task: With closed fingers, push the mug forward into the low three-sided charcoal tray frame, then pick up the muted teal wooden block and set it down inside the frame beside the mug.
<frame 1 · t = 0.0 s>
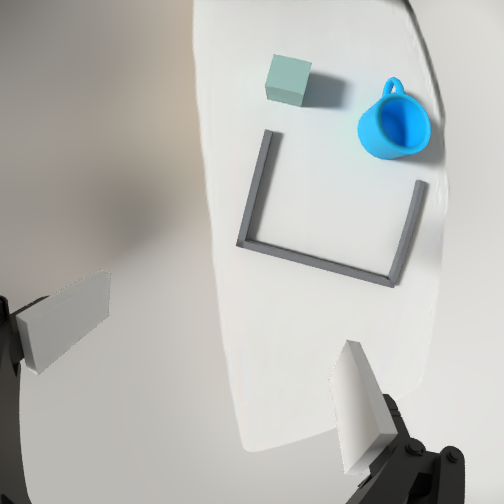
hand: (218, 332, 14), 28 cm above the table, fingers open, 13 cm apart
tray frame: (335, 210, 39), on the table
block: (287, 88, 36), on the table
mug: (382, 121, 35), on the table
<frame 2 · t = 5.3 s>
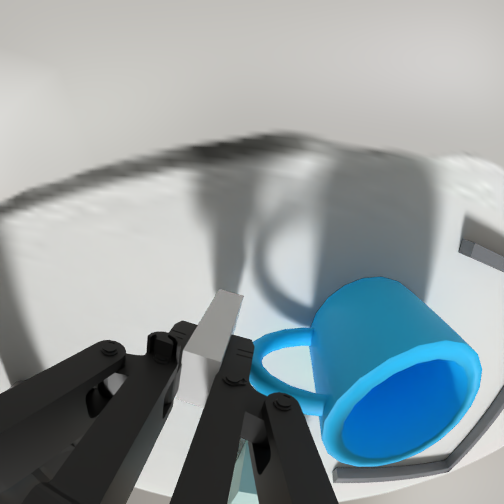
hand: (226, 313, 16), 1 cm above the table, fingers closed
tray frame: (461, 392, 18), on the table
block: (266, 456, 21), on the table
mug: (340, 331, 18), on the table, touching gripper
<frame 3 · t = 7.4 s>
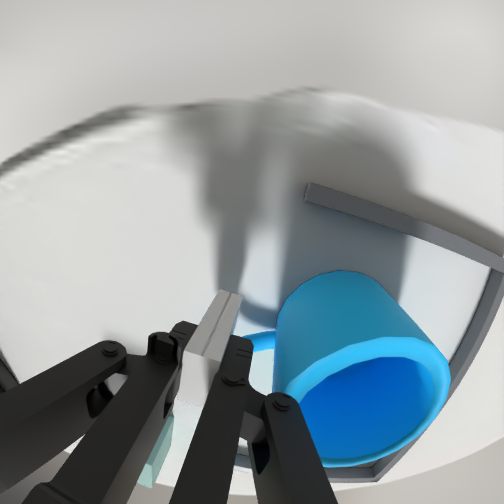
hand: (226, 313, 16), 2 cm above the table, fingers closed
tray frame: (362, 385, 18), on the table
block: (148, 422, 22), on the table
mug: (308, 330, 18), on the table, touching gripper
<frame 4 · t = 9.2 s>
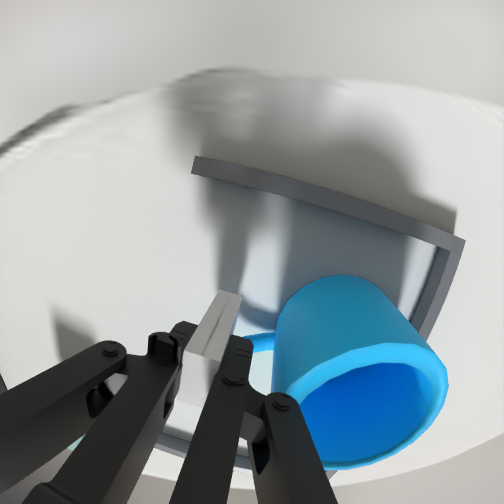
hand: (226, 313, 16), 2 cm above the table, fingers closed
tray frame: (283, 372, 18), on the table
mug: (307, 332, 18), on the table, touching gripper
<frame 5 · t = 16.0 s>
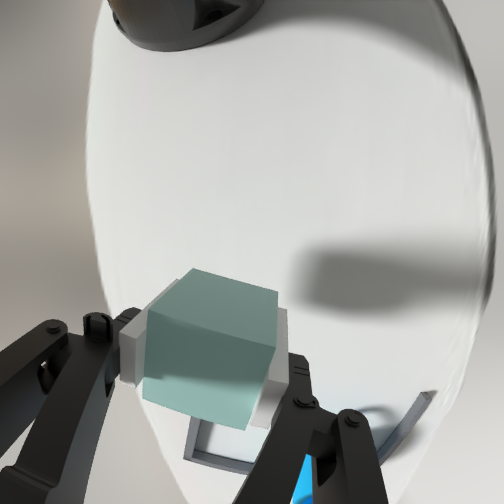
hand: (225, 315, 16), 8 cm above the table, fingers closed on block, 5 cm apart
tray frame: (302, 436, 26), on the table
block: (225, 318, 16), point 7 cm above the table, touching gripper
mug: (327, 440, 26), on the table
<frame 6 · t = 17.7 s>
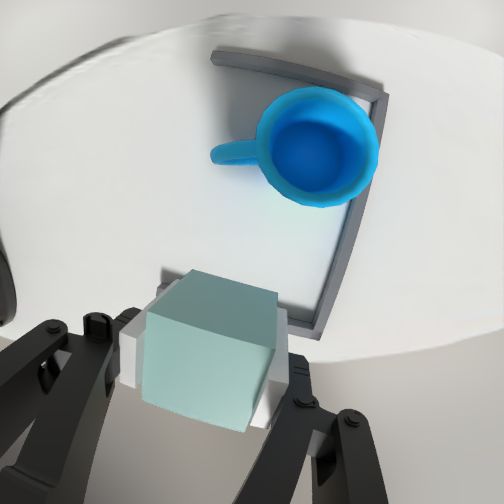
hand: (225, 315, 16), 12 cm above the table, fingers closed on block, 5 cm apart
tray frame: (270, 192, 25), on the table
block: (225, 319, 16), point 11 cm above the table, touching gripper
mug: (285, 158, 25), on the table
when the fingers open (2 cm above the table, at t = 19.6 s): block drops 1 cm, on the table.
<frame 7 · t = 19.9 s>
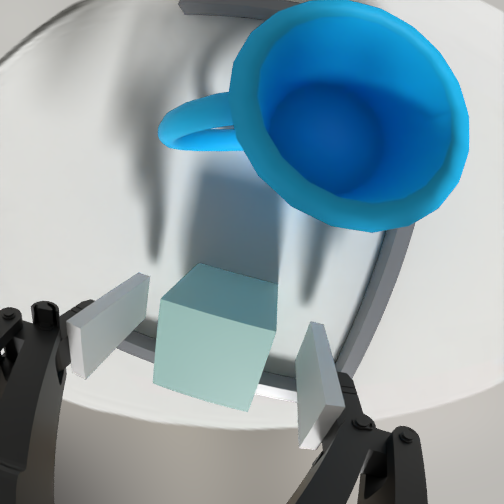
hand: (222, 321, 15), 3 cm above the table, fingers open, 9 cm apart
tray frame: (266, 195, 16), on the table
block: (229, 309, 18), on the table
mug: (291, 141, 15), on the table
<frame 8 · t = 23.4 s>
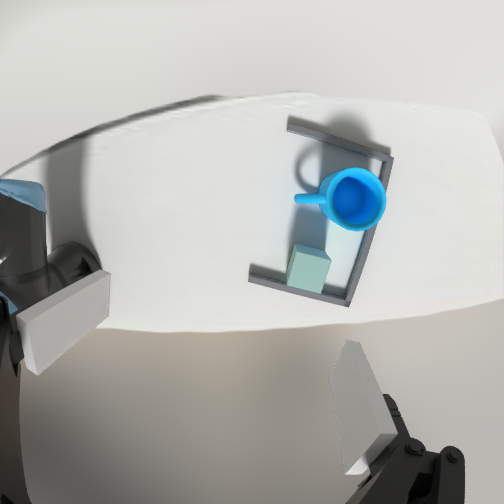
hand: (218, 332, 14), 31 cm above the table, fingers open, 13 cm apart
tray frame: (321, 217, 42), on the table
block: (305, 262, 44), on the table
mug: (331, 197, 42), on the table
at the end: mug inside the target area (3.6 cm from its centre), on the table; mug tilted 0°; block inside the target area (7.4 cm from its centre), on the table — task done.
